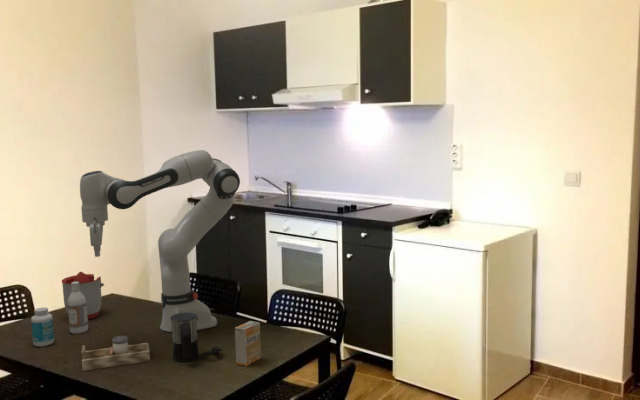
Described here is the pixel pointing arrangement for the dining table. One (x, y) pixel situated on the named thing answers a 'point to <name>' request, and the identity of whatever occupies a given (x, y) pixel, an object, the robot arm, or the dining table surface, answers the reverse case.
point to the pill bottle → (42, 327)
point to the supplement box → (247, 343)
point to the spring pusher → (111, 351)
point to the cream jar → (120, 345)
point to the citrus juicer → (85, 292)
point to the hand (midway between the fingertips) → (97, 253)
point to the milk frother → (186, 337)
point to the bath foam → (77, 310)
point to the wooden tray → (114, 357)
